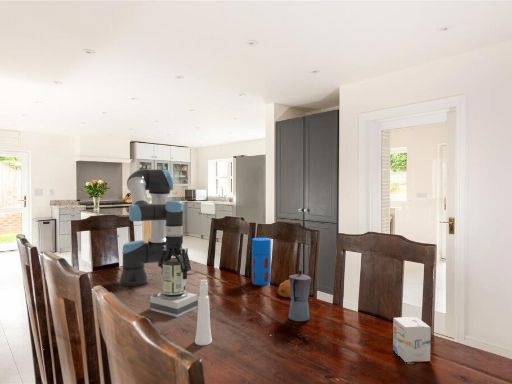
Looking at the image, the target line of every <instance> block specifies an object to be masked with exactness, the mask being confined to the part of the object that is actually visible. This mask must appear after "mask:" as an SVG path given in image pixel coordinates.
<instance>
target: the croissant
mask: <svg viewBox="0 0 512 384" xmlns="http://www.w3.org/2000/svg"><path fill="white" fill-rule="evenodd" d="M277 294H278V295H279V296H281V297H284V298H287V297H289V298H288V299H291V293H290V281H289V279H286V280H285V281H283V282H281V283H280V284H279V286H278V288H277Z"/></svg>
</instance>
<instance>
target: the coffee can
mask: <svg viewBox="0 0 512 384" xmlns="http://www.w3.org/2000/svg"><path fill="white" fill-rule="evenodd" d="M162 262H163V283H162V292H163V293H164V294H167V295H177V294H182V293H184V292H185V291H186V286H187V285H186V286H184V287H181V272H182V270H181V263H184V262H178V260H177V258H176V257H171V259H169V260H163V261H162Z"/></svg>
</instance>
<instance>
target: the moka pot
mask: <svg viewBox="0 0 512 384" xmlns="http://www.w3.org/2000/svg"><path fill="white" fill-rule="evenodd" d="M302 273H303V270H298V274H292V275H289V276H288V278H289V279H288V280H289V281H290V293H291V298H290V304H289V308H288V316H287V317H288V319H289V320H291V321H295V322H306V321H307V322H308V321H309V320H310V309H309V301H308V300H309V296H310V290H311V283H312V278H311V276H309V275H306V274H302Z"/></svg>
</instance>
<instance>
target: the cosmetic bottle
mask: <svg viewBox="0 0 512 384" xmlns="http://www.w3.org/2000/svg"><path fill="white" fill-rule="evenodd" d="M208 291H209V286H208V280H207V279H206V278H205V279H200V283H199V295H198V297H197V300H198V306H197V317H196V318H197V321H196V331H195V332H196V333H195V337H194V338H195V339H194V343H195V344H196V345H197V346H209V345H211V344H212V342H213V339H212V338H213V337H212V331H211V329H212V328H211V317H210V315H211V313H210V296H209V295H208V294H209V293H208Z"/></svg>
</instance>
